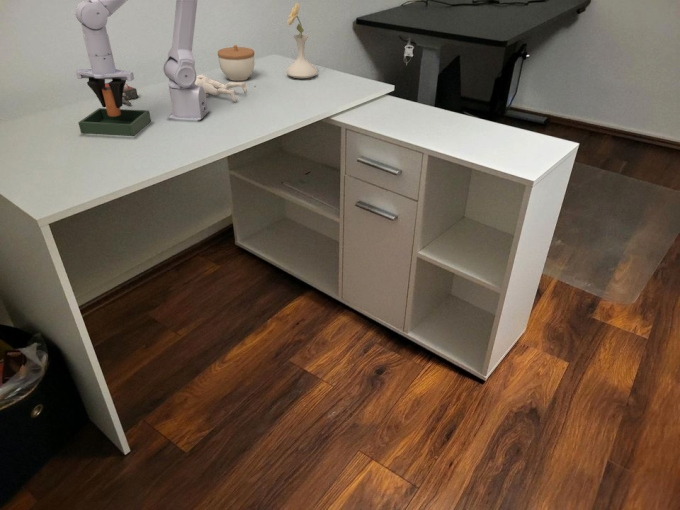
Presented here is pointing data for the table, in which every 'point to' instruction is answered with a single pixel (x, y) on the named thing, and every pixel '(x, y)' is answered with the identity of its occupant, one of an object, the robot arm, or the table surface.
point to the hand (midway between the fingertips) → (112, 106)
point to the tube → (110, 102)
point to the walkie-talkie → (127, 93)
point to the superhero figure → (218, 86)
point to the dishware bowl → (236, 62)
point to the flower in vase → (300, 51)
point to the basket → (115, 122)
